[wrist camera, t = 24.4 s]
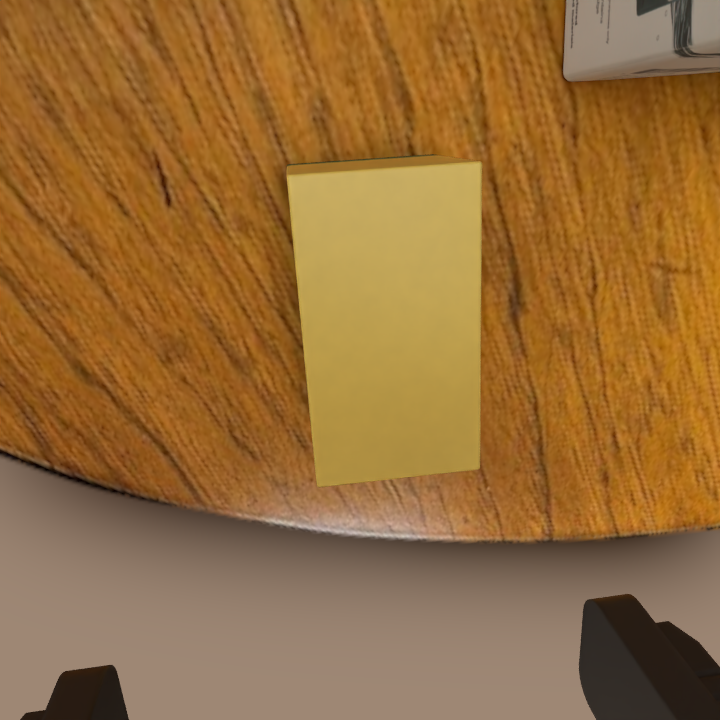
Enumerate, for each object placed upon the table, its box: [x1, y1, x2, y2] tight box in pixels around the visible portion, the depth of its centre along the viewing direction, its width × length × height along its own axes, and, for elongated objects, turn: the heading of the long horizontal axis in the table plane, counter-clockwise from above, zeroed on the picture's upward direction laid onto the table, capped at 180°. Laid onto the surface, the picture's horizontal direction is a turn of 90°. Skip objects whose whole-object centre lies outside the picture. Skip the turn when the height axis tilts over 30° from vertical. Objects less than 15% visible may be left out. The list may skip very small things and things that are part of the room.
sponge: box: [287, 154, 482, 487], centre depth 20 cm, size 9×5×6 cm, turn 4°
